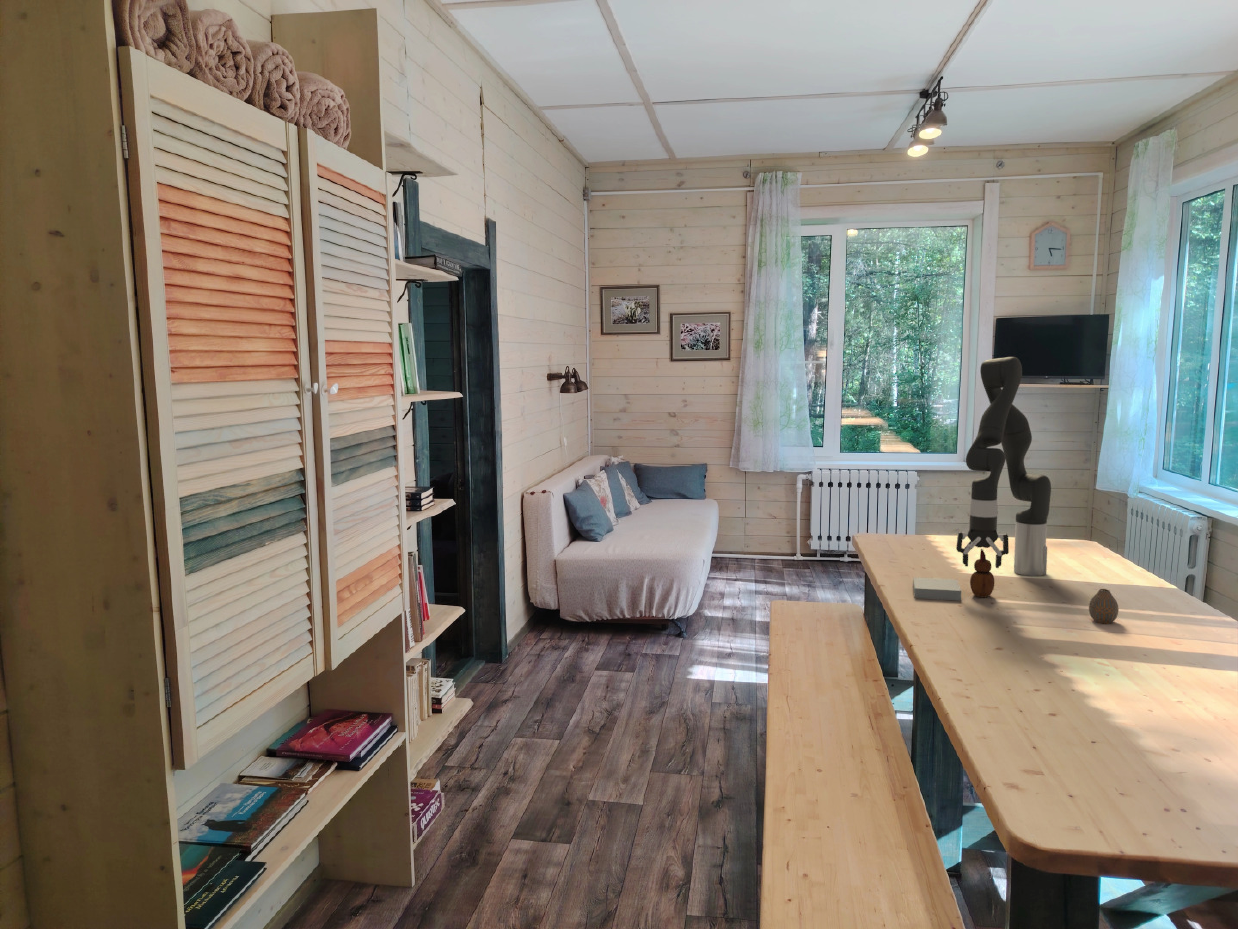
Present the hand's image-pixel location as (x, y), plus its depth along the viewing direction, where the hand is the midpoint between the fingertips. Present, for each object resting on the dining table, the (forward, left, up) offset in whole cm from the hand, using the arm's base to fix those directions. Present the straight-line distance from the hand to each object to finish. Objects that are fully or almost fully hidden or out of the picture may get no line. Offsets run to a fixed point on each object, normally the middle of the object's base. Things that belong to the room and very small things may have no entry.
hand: (981, 566), depth 244 cm
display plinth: (+13, 0, -9) cm, 16 cm away
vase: (-28, +19, -9) cm, 35 cm away
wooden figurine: (0, 0, -9) cm, 9 cm away
